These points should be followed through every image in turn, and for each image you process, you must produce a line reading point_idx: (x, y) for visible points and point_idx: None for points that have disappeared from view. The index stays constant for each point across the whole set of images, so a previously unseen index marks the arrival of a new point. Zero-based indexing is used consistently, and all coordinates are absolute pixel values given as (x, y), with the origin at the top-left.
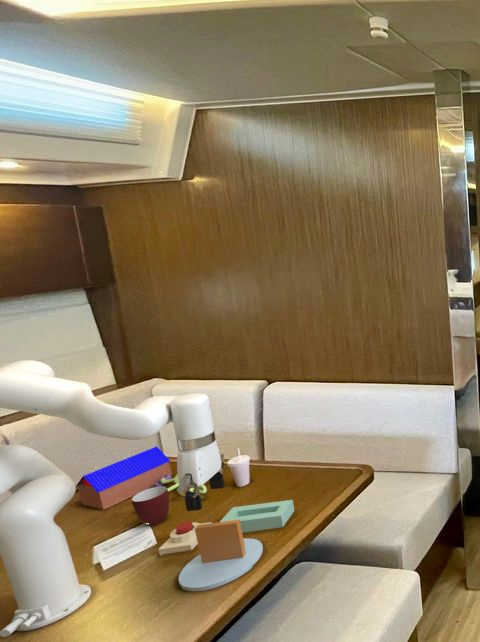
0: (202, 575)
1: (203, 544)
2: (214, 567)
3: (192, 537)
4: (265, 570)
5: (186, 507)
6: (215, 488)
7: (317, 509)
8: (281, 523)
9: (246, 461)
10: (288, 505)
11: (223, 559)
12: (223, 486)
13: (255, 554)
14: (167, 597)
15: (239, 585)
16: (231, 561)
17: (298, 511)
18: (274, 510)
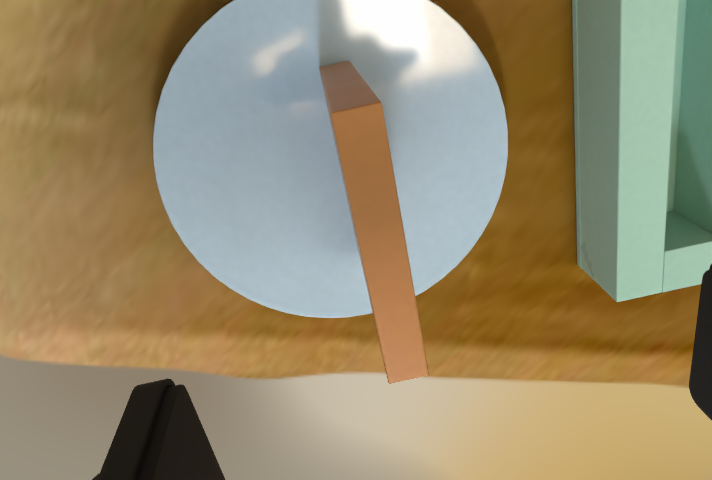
0: (234, 145)
1: (330, 118)
2: (291, 162)
3: None
4: (300, 367)
5: (120, 425)
6: (700, 324)
7: (692, 328)
8: (590, 274)
9: None
10: None
11: (341, 172)
12: (709, 413)
13: None
14: (107, 51)
15: (214, 327)
16: (332, 217)
17: None
18: (705, 195)
